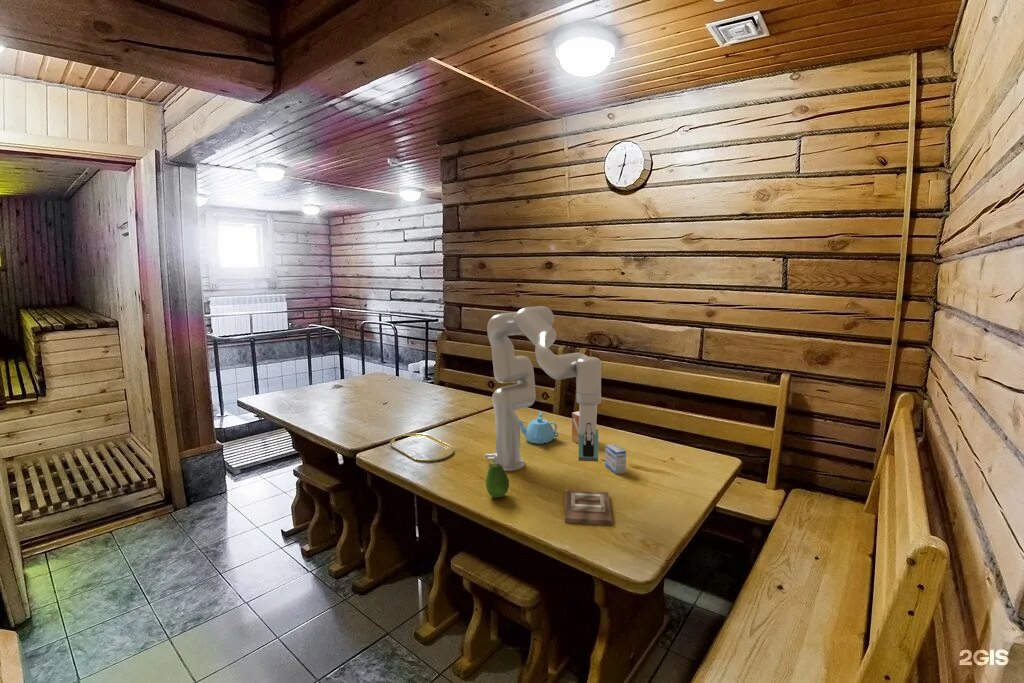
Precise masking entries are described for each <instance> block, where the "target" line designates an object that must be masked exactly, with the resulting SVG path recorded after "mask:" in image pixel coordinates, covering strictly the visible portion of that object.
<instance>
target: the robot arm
mask: <svg viewBox="0 0 1024 683" xmlns="http://www.w3.org/2000/svg"><path fill="white" fill-rule="evenodd" d="M554 323H555V315H554V313H553V311H552V310H551V309H550V308H549V307H547V306H544V305H540V306H527V307H523V308H521V309H519V310H518V311H514V312H513V311H512V312H502V313H497V314H495V315H493V316H492V317H491V318H490V319H489V320H488V322H487V326H486V330H487V337H488V338H487V339H488V340H489V344H490V347H491V356H492V357H491V358H492V366H493V376H494V379H495V381H496V382H497V383H501V384H509V383H513V382H516V383H515V384H511V385H506V386H501V387H499V388H497V389H495V390H494V392H493V393H492V396H491V402H492V405H493V410H494V419H495V422H494V423H495V424H494V425H495V452H494V453H485V456H484V457H485V459H487V461H492V464H494V463H498V464H500V465H501V466H502V467H503V469H504V471H505V472H515V471H519V470H521V469H523V468H524V467H525V465H526V464H525V460H524V459H523V458H522V456H521V455H522V454H521V428H520V420H521V419H520V418H519V417H518V415H517V413H516V410H520V409H525V408H528V407H531V406H533V404H534V403H535V401H536V398H537V397H536V395H537V394H536V381H535V372H534V366H533V363H532V361H531V359H530V358H529V357H527V356H526V355H516V356H515V347H514V344H513V342H512V341H511V339H510V337H509V336H516V335H517V336H519V335H525V337H526V338H527V339H528V340H529V341H530V342H531V343H532V344H533V345H534V346H535V347H534V349H535V350H534V353H535V354H534V355H535V359H536V361H537V364H538V365H539V367H540V368H541V370H542V371H543V372H544V373H546V375H547V376H549V377H550V378H551V379H552V380H557V381H559V380H566V379H570V378H576V380H575V382H576V383H575V384H576V386H575V387H576V391H575V392H576V393H575V394H576V395H575V398H576V399H575V400H576V403H577V404H579V406H578V407H579V410H578V411H579V434H580V436H582V435H584V444H583V456H584V457H593V456H594V444H593V436H595V433H596V429H597V417H598V405H599V404H601V403H602V361H601V359H600V358H599V357H595V356H589V355H587V354H584V353H583V352H573V353H572V352H571V353H564V354H559V355H556V354H555V353H553V351H552V350H551V349H550V347H552V345H553V344H554V343H555V341H556V338H557V331H556V330H555V328H553V325H554ZM585 433H587V434H585ZM591 433H592V434H591ZM586 437H587V438H586Z"/></svg>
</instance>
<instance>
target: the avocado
mask: <svg viewBox="0 0 1024 683" xmlns="http://www.w3.org/2000/svg"><path fill="white" fill-rule="evenodd" d="M485 487H486V490H487V493H488V494H489V496H490V497H492V498H495V499H497V498H498V499H499V498H502V497H504V496H506V494H507V493H508V490H509V488H510V480H509V478H508V475H507V473H506V471H504V469H503V467H502V466H501V465H500V464H498V463H494V464H493V463H492V464H491V465H490V466H489V467H488V470H487V474H486V477H485Z"/></svg>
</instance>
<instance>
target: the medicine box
mask: <svg viewBox="0 0 1024 683" xmlns="http://www.w3.org/2000/svg"><path fill="white" fill-rule="evenodd" d="M604 450H605V452H604V453H605V456H604V457H605V458H604V467H606V468H607V469H608V470H609V469H610V472H613V473H614V474H615V475H618V474H624V473H626V471H627V470H626V469H627V451H626V450H625V449H623V448H622V447H620V446H619V445H617V444H615V443H613V444H607V445H605V449H604Z"/></svg>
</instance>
